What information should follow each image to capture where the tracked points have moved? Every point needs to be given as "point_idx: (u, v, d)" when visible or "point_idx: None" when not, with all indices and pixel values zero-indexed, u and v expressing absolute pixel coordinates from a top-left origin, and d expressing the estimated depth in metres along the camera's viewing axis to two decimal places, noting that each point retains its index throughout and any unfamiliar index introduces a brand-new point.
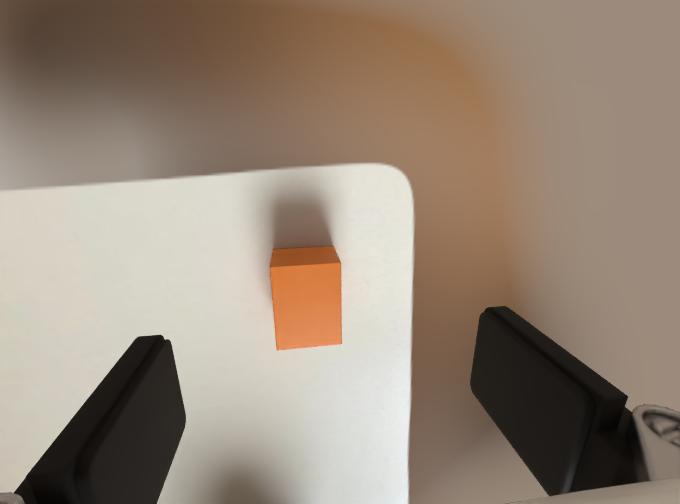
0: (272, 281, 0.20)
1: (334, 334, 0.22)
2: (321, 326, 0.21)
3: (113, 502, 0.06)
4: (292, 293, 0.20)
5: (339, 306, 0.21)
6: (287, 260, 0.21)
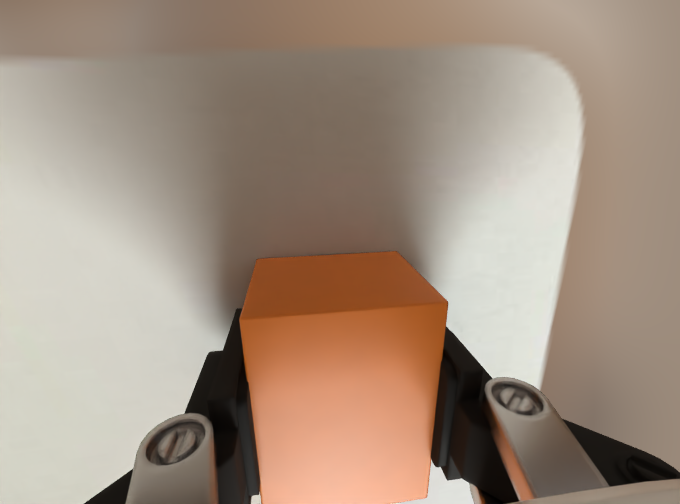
0: (248, 360, 0.07)
1: (412, 479, 0.08)
2: (381, 464, 0.08)
3: (253, 431, 0.07)
4: (306, 389, 0.07)
5: (431, 415, 0.08)
6: (291, 293, 0.07)
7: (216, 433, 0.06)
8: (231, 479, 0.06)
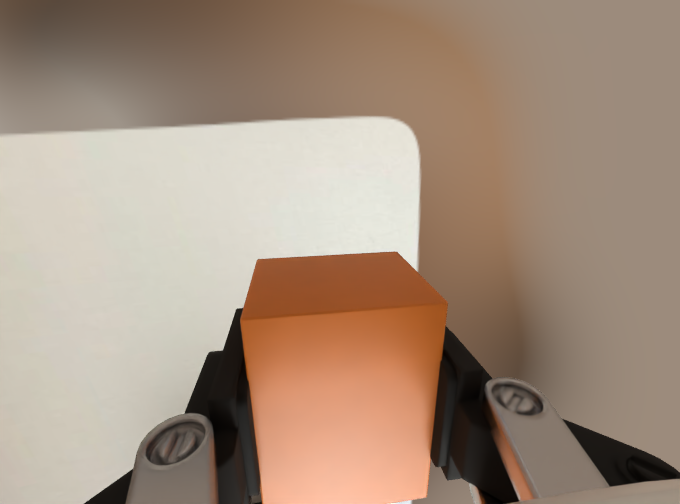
0: (248, 360, 0.07)
1: (412, 478, 0.09)
2: (380, 464, 0.08)
3: (253, 431, 0.07)
4: (306, 389, 0.07)
5: (431, 415, 0.08)
6: (291, 294, 0.07)
7: (216, 433, 0.06)
8: (231, 479, 0.06)
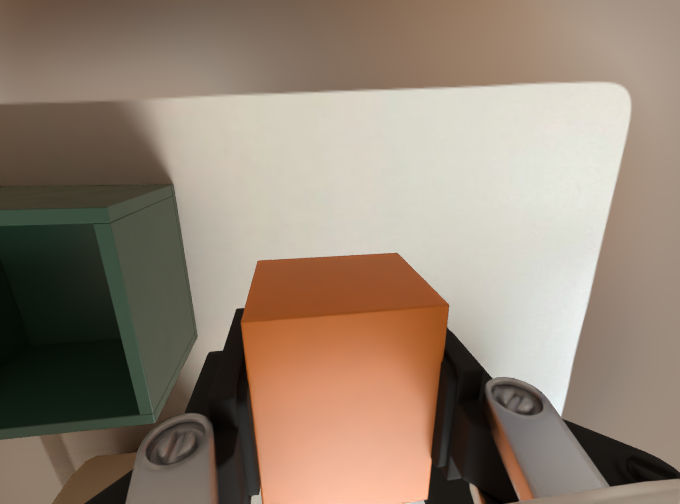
0: (249, 363, 0.07)
1: (413, 481, 0.09)
2: (381, 466, 0.08)
3: (253, 431, 0.07)
4: (307, 392, 0.07)
5: (432, 417, 0.08)
6: (292, 296, 0.07)
7: (216, 433, 0.06)
8: (231, 479, 0.06)
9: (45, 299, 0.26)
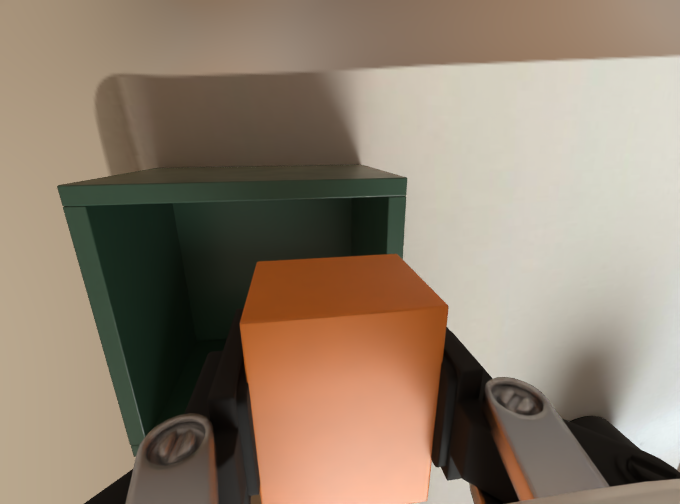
0: (248, 364, 0.07)
1: (412, 482, 0.08)
2: (381, 468, 0.08)
3: (253, 431, 0.07)
4: (306, 393, 0.07)
5: (432, 418, 0.08)
6: (291, 297, 0.07)
7: (216, 433, 0.06)
8: (231, 479, 0.06)
9: (218, 291, 0.24)
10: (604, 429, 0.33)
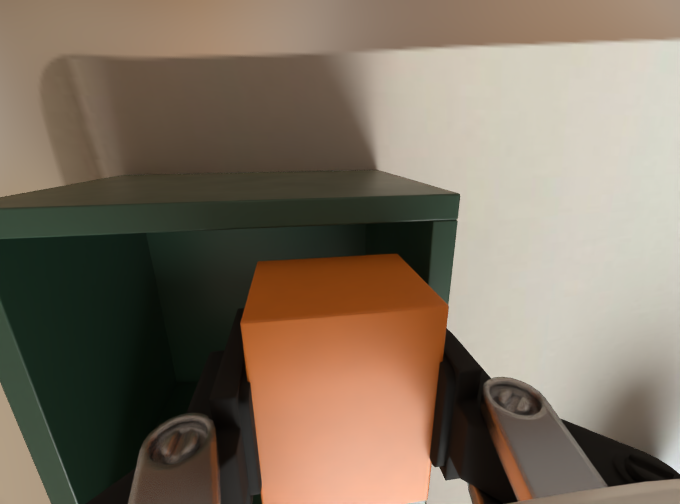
0: (249, 363, 0.07)
1: (412, 481, 0.09)
2: (381, 467, 0.08)
3: (254, 430, 0.07)
4: (307, 392, 0.07)
5: (432, 418, 0.08)
6: (292, 297, 0.07)
7: (218, 432, 0.06)
8: (233, 478, 0.06)
9: (202, 324, 0.19)
10: None
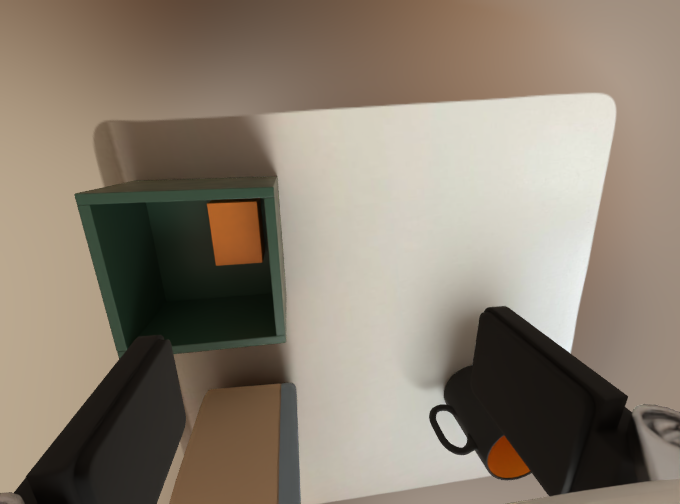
0: (209, 214, 0.29)
1: (256, 254, 0.31)
2: (246, 248, 0.31)
3: (113, 502, 0.06)
4: (223, 223, 0.30)
5: (258, 233, 0.31)
6: (220, 201, 0.30)
7: None
8: None
9: (180, 265, 0.34)
10: None
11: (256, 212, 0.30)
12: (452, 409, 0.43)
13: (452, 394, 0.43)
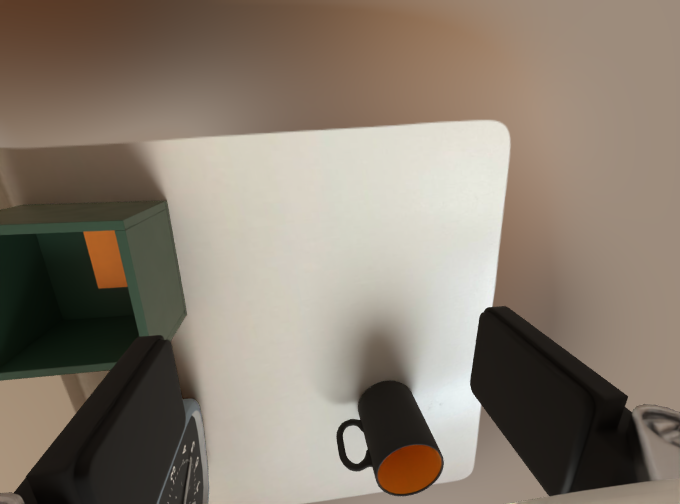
0: (86, 240, 0.30)
1: None
2: None
3: (113, 502, 0.06)
4: (102, 248, 0.31)
5: None
6: None
7: None
8: None
9: (74, 285, 0.35)
10: (392, 389, 0.44)
11: None
12: (360, 424, 0.44)
13: (362, 409, 0.44)
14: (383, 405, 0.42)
